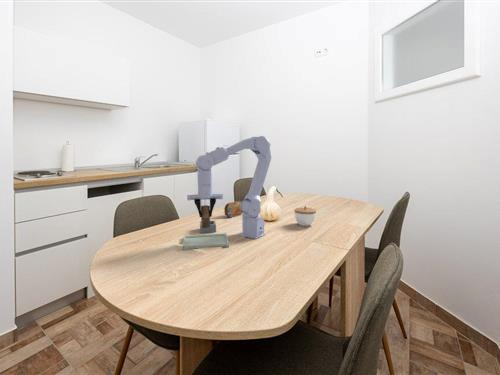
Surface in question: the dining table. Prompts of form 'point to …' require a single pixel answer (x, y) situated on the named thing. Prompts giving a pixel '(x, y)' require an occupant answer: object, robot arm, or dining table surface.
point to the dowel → (205, 216)
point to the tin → (233, 209)
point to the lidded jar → (305, 216)
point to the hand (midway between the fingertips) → (205, 216)
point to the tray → (205, 241)
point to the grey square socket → (208, 230)
